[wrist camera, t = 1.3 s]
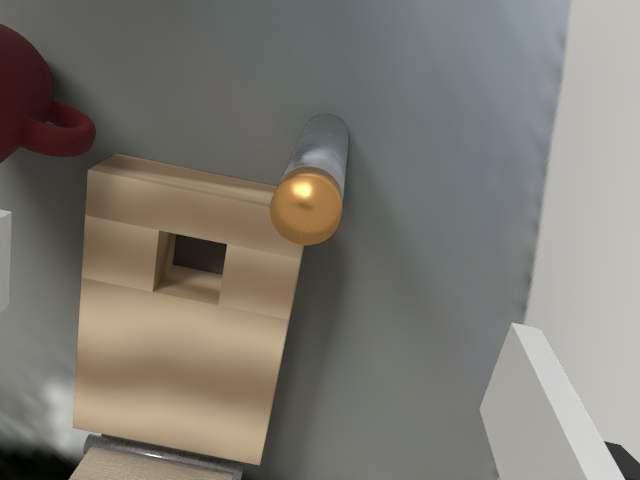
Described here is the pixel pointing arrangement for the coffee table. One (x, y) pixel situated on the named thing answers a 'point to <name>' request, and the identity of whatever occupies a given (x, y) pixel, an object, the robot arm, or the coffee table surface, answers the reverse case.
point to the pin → (313, 183)
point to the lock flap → (148, 463)
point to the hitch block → (181, 310)
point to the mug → (35, 105)
